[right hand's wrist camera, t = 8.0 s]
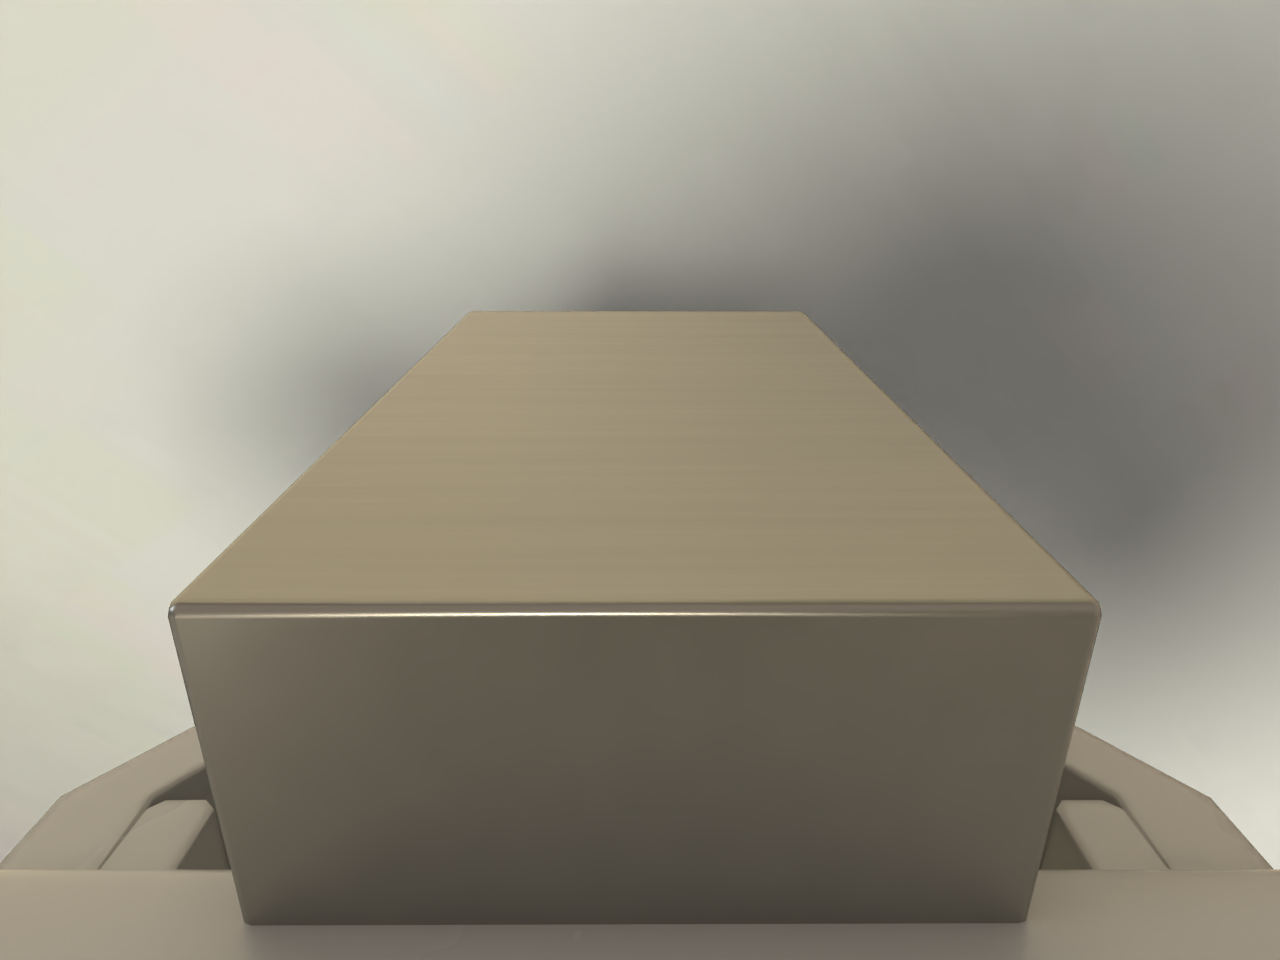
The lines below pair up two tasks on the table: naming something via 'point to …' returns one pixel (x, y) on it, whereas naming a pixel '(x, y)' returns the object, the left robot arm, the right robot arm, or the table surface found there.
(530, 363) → the bar
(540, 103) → the table surface
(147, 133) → the table surface
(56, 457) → the table surface
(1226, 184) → the table surface
